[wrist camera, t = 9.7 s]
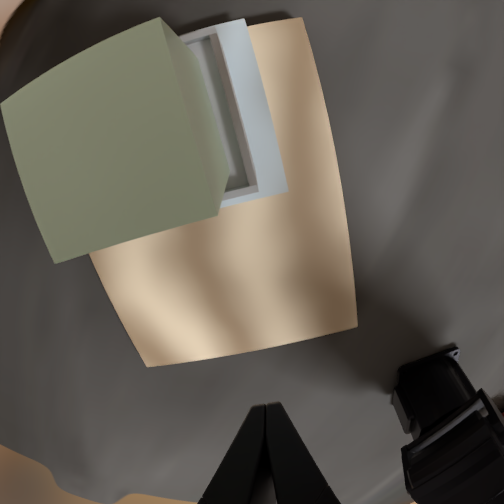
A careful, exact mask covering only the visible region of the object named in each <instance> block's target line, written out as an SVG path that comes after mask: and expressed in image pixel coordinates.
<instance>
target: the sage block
mask: <svg viewBox="0 0 504 504" xmlns="http://www.w3.org/2000/svg"><path fill="white" fill-rule="evenodd" d="M0 105H1V110H2V115H3V119H4V123H5V127H6V131H7V135H8V139H9V143H10V146H11V150H12V153H13V157H14V160H15V163H16V166H17V170H18V173H19V176H20V179H21V182H22V185H23V188H24V191H25V193H26V196H27V199H28V202H29V204H30V207H31V210H32V212H33V215H34V217H35V220H36V222H37V225H38V227H39V230H40V232H41V234H42V237H43V239H44V241H45V244H46V246H47V248H48V250H49V253H50V255H51V257H52V259H53V261H54V263H55V264H57V263H60V262H63V261H66V260H69V259H72V258H75V257H79V256H82V255H85V254H88V253H91V252H94V251H98V250H101V249H104V248H107V247H111V246H114V245H117V244H121V243H124V242H127V241H131V240H134V239H137V238H141V237H144V236H148V235H151V234H154V233H158V232H161V231H165V230H168V229H172V228H175V227H179V226H183V225H186V224H190V223H193V222H197V221H201V220H204V219H208V218H212V217H216V216H218V214H219V210H220V206H221V202H222V199H223V195H224V192H225V188H226V184H227V181H228V177H229V174H230V169H229V165H228V162H227V158H226V155H225V151H224V148H223V144H222V141H221V138H220V134H219V131H218V127H217V124H216V120H215V117H214V113H213V110H212V106H211V103H210V99H209V96H208V92H207V89H206V85H205V82H204V78H203V75H202V71H201V68H200V64H199V61H198V58H197V57H196V56H195V54H194V53H193V52H192V51H191V50H190V49H189V48H188V47H187V46H186V44H185V43H184V42H183V41H182V40H181V39H180V38H179V37H178V36H177V35H176V34H175V33H174V31H173V30H172V29H171V28H170V27H169V26H168V25H167V24H166V23H165V22H164V21H163V20H162V19H161V18H160V17H158V18H155V19H153V20H150V21H147V22H145V23H142V24H140V25H137V26H135V27H133V28H130V29H128V30H126V31H123V32H121V33H119V34H117V35H114V36H112V37H110V38H108V39H106V40H104V41H102V42H100V43H98V44H96V45H94V46H92V47H90V48H88V49H86V50H84V51H82V52H80V53H78V54H76V55H75V56H73V57H71V58H69V59H67V60H66V61H64V62H62V63H60V64H59V65H57V66H55V67H54V68H52V69H50V70H49V71H47V72H46V73H44V74H42V75H41V76H39V77H38V78H36V79H35V80H33V81H32V82H30V83H29V84H27V85H26V86H24V87H23V88H21V89H20V90H18V91H17V92H16V93H14V94H13V95H11V96H10V97H9V98H7V99H6V100H5V101H3V102H2V103H1V104H0Z"/></svg>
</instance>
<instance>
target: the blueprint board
mask: <svg viewBox="0 0 504 504" xmlns="http://www.w3.org/2000/svg"><path fill="white" fill-rule="evenodd" d="M178 37H179V38H180V39H181V40H182V41H183V42H184V43H185V44H186V46H187V47H188V48H189V49H190V50H191V51H192V52H193V53H194V54H195V56H196V57H197V58H198V61H199V64H200V68H201V71H202V75H203V78H204V82H205V85H206V89H207V92H208V96H209V99H210V103H211V106H212V110H213V113H214V117H215V120H216V124H217V127H218V131H219V134H220V138H221V141H222V144H223V148H224V151H225V155H226V158H227V162H228V165H229V169H230V174H229V177H228V181H227V184H226V188H225V192H224V195H223V199H222V202H221V206H220V210H219V214H218V216H216V217H212V218H208V219H204V220H201V221H197V222H193V223H190V224H186V225H183V226H179V227H175V228H172V229H168V230H165V231H161V232H158V233H154V234H151V235H148V236H144V237H141V238H137V239H134V240H131V241H127V242H124V243H121V244H117V245H114V246H111V247H107V248H104V249H101V250H98V251H94V252H91V253H89V255H90V257H91V260H92V262H93V264H94V266H95V268H96V271H97V273H98V275H99V277H100V279H101V281H102V284H103V286H104V288H105V290H106V292H107V294H108V296H109V298H110V300H111V302H112V304H113V306H114V308H115V310H116V312H117V314H118V316H119V318H120V320H121V321H122V323H123V325H124V327H125V329H126V331H127V333H128V335H129V336H130V338H131V340H132V342H133V344H134V345H135V347H136V349H137V351H138V352H139V354H140V356H141V358H142V359H143V361H144V363H145V364H146V366H147V367H153V366H161V365H169V364H176V363H184V362H190V361H197V360H204V359H210V358H216V357H222V356H228V355H234V354H239V353H244V352H250V351H255V350H260V349H265V348H270V347H275V346H280V345H284V344H289V343H294V342H298V341H302V340H307V339H311V338H315V337H320V336H324V335H328V334H332V333H336V332H340V331H344V330H347V329H351V328H355V327H358V322H357V308H356V297H355V286H354V276H353V266H352V257H351V249H350V241H349V233H348V226H347V219H346V212H345V205H344V199H343V193H342V187H341V181H340V175H339V169H338V164H337V158H336V153H335V148H334V143H333V138H332V133H331V128H330V123H329V119H328V114H327V110H326V105H325V101H324V97H323V93H322V88H321V84H320V80H319V76H318V72H317V68H316V65H315V61H314V57H313V54H312V50H311V46H310V43H309V39H308V36H307V32H306V29H305V26H304V22H303V19H302V17H300V18H292V19H285V20H279V21H273V22H267V23H262V24H257V25H252V26H247V25H246V22H245V19H244V18H243V19H239V20H234V21H230V22H226V23H222V24H218V25H214V26H210V27H207V28H203V29H199V30H196V31H193V32H189V33H186V34H183V35H180V36H178Z"/></svg>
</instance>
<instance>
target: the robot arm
mask: <svg viewBox="0 0 504 504" xmlns="http://www.w3.org/2000/svg"><path fill="white" fill-rule="evenodd" d="M459 354H460V350H459V348H458V347H454V348H451V349H449V350H446V351H444V352H441V353H438V354H436V355H433V356H430V357H428V358H425V359H422V360H419V361H416V362H413V363H411V364H408V365H405V366H402V367H401V368H399V370H398V375H397V386H395V388H394V395H393V405H394V408H395V410H396V413H397V415H398V418H399V420H400V423H401V425H402V428H403V430H404V433H406V434H410V433H411V435H412V437H413V440H414V441H413V442H411V443H410V444H408V445H405V446H403V447H402V448H401V453H402V463H403V470H404V478H405V486H406V490H407V493H408V495H410V496H411V497H412V498H413V500H414V501H415V502H416V503H417V504H504V417H503V416H502V414H501V413H500V411H499V409H498V408H497V406H496V405H495V403H494V402H493V400H492V399H491V398H490V397H489V396H488V395H487V393H486V392H485V391H484V390H483V389H482V388H481V389H479V390H478V391H477V392H476V390H475V389H474V387H473V386H472V384H471V382H470V381H469V379H468V378H467V376H466V375H465V373H464V372H463V370H462V369H461V367H460V366H459V364H458V363H457V362H458V358H459ZM487 414H489V415H488V416H487V417H485V416H486V415H487ZM202 497H203V498H200V500H199V502H198V504H276V500H277V504H341V503H340V502H339V500H338V499H337V497H336V496H335V494H334V493H333V491H332V489H331V488H330V486H328V483H327V481H326V480H325V478H324V476H323V475H322V473H321V471H320V470H319V468H318V466H317V465H316V463H315V461H314V460H313V458H312V456H311V455H310V453H309V451H308V449H307V448H306V446H305V444H304V443H303V441H302V439H301V437H300V436H299V434H298V432H297V430H296V429H295V427H294V425H293V423H292V422H291V420H290V418H289V416H288V415H287V413H286V411H285V409H284V408H283V406H282V404H281V403H280V402H272V403H268V404H267V405H266V404H259V405H253V406H252V407H251V408H250V410H249V412H248V414H247V416H246V418H245V420H244V421H243V423H242V425H241V427H240V429H239V431H238V433H237V435H236V437H235V438H234V440H233V442H232V444H231V446H230V448H229V450H228V451H227V453H226V455H225V457H224V459H223V460H222V462H221V464H220V466H219V468H218V469H217V471H216V473H215V475H214V476H213V478H212V480H211V482H210V483H209V485H208V487H207V489H206V490H205V492H204V494H203V495H202Z"/></svg>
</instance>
